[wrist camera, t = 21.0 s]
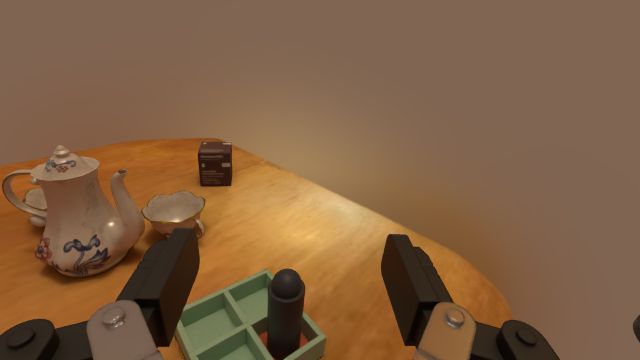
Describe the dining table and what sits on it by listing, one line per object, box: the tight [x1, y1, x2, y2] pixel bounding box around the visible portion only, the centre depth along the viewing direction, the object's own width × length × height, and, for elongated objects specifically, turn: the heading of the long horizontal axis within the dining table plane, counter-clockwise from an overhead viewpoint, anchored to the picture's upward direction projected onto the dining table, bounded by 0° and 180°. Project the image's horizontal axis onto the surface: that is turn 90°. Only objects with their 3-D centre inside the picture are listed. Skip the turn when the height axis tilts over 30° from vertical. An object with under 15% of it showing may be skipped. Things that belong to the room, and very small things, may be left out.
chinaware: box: [2, 146, 205, 278], centre depth 42 cm, size 28×17×17 cm, turn 91°
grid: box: [175, 269, 326, 360], centre depth 33 cm, size 12×12×3 cm
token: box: [267, 269, 305, 360], centre depth 31 cm, size 4×4×10 cm
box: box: [198, 142, 232, 186], centre depth 64 cm, size 6×6×7 cm
